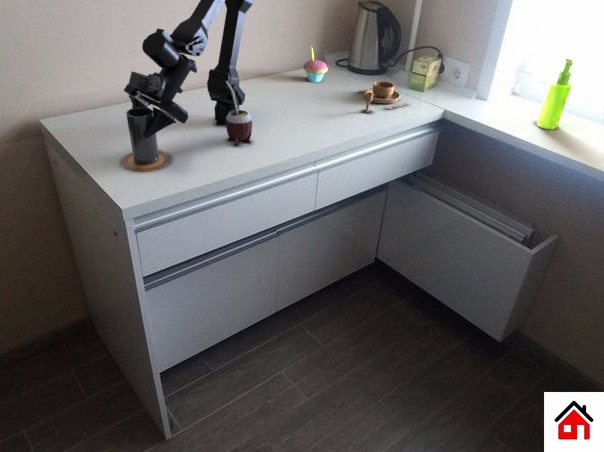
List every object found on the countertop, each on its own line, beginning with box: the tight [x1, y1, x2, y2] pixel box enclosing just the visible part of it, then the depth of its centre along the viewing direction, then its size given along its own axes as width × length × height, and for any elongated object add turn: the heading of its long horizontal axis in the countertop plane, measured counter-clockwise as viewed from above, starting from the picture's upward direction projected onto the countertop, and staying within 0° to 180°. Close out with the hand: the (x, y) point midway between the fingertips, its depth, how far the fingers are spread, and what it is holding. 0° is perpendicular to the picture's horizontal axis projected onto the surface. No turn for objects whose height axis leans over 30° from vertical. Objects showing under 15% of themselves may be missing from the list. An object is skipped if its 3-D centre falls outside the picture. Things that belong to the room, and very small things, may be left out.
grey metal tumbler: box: [125, 107, 159, 164], centre depth 119 cm, size 6×6×12 cm
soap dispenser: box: [536, 58, 574, 130], centre depth 150 cm, size 6×7×20 cm
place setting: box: [358, 80, 408, 114], centre depth 164 cm, size 18×20×6 cm
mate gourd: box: [225, 81, 253, 147], centre depth 131 cm, size 8×8×15 cm
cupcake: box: [303, 45, 328, 83], centre depth 178 cm, size 9×8×12 cm
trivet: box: [122, 150, 170, 172], centre depth 122 cm, size 11×11×1 cm
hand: (137, 133), depth 117 cm, fingers closed on grey metal tumbler, 6 cm apart
